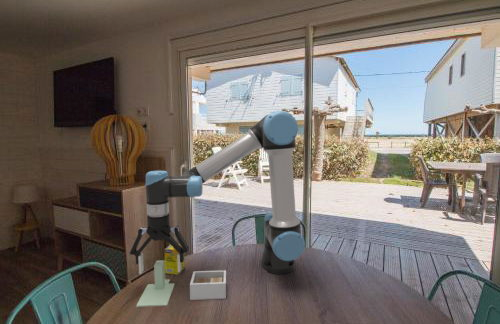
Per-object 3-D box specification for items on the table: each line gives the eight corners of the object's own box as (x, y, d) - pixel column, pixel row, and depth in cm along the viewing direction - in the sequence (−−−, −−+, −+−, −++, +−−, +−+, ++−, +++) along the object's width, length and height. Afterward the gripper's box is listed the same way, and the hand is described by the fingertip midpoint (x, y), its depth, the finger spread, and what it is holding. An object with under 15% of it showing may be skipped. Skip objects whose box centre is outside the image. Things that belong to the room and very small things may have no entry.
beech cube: (222, 288, 99) (222, 277, 99) (221, 294, 95) (221, 283, 95) (211, 288, 99) (211, 277, 98) (210, 294, 95) (210, 283, 94)
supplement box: (178, 276, 108) (178, 250, 107) (164, 275, 109) (164, 248, 108) (185, 269, 114) (184, 244, 113) (171, 268, 115) (171, 243, 114)
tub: (226, 285, 102) (226, 270, 101) (225, 300, 93) (225, 283, 92) (193, 286, 101) (193, 271, 100) (190, 301, 92) (189, 284, 91)
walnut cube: (207, 288, 98) (207, 278, 98) (206, 294, 95) (206, 284, 94) (196, 288, 98) (196, 278, 98) (195, 295, 94) (195, 284, 94)
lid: (150, 282, 104) (149, 257, 103) (176, 281, 104) (175, 256, 103) (136, 308, 88) (135, 279, 87) (167, 307, 89) (166, 278, 88)
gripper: (117, 218, 92) (121, 278, 94) (192, 216, 94) (194, 275, 96) (126, 212, 99) (129, 267, 101) (195, 210, 101) (196, 264, 103)
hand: (160, 271), depth 99 cm, fingers open, 13 cm apart
